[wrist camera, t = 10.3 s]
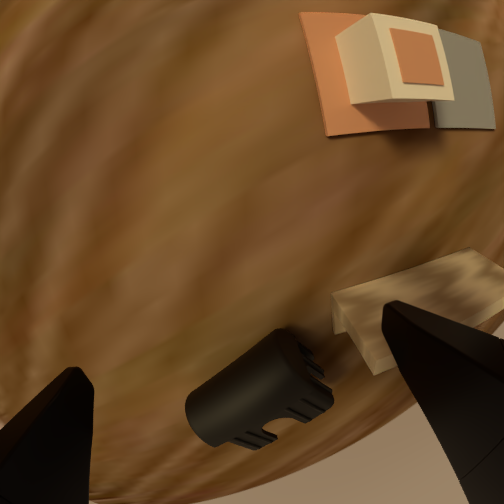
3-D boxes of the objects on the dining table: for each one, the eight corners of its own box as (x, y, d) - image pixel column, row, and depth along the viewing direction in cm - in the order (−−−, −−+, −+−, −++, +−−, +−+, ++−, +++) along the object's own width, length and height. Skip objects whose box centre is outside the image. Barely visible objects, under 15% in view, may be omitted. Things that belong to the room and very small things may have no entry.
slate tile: (477, 42, 14) (480, 42, 14) (492, 128, 18) (495, 129, 18) (413, 24, 14) (416, 23, 14) (435, 127, 18) (438, 127, 17)
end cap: (267, 308, 22) (286, 371, 16) (318, 350, 24) (344, 406, 18) (185, 374, 24) (182, 436, 18) (240, 404, 26) (248, 460, 20)
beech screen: (469, 247, 23) (524, 283, 15) (464, 281, 24) (512, 320, 17) (330, 292, 22) (375, 360, 15) (332, 330, 24) (370, 398, 16)
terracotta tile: (404, 22, 14) (407, 21, 14) (426, 127, 18) (430, 128, 17) (298, 14, 14) (299, 12, 13) (325, 136, 17) (328, 136, 17)
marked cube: (393, 38, 14) (437, 22, 10) (408, 102, 16) (456, 100, 12) (334, 34, 14) (371, 9, 9) (350, 104, 16) (394, 98, 11)
